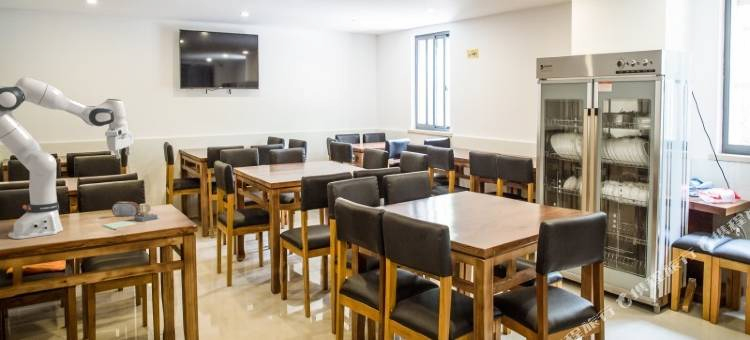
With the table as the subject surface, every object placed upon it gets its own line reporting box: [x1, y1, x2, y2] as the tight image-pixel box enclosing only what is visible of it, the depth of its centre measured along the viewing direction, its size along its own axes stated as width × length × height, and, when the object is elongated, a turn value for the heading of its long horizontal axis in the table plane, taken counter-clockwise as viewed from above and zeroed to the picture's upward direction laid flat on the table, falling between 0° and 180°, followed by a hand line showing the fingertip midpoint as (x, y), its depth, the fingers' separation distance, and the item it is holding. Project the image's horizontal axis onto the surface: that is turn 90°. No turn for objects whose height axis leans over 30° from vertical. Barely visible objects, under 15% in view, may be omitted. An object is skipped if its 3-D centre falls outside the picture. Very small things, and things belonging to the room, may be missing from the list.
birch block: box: [138, 202, 152, 217], centre depth 287 cm, size 4×4×8 cm
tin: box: [111, 201, 140, 217], centre depth 297 cm, size 15×3×8 cm, turn 84°
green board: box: [102, 220, 137, 231], centre depth 276 cm, size 12×12×1 cm
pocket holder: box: [131, 213, 160, 223], centre depth 288 cm, size 10×10×3 cm
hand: (123, 156), depth 285 cm, fingers open, 8 cm apart
